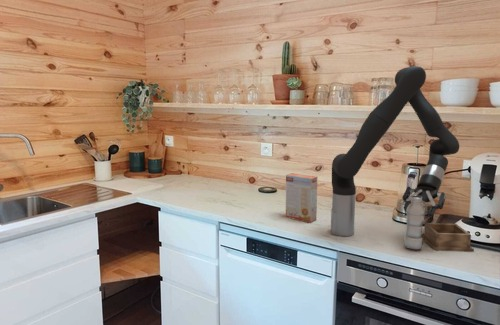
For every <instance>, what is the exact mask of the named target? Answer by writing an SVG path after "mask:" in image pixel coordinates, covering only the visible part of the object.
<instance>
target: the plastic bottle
mask: <svg viewBox="0 0 500 325" xmlns="http://www.w3.org/2000/svg"><path fill="white" fill-rule="evenodd" d="M412 195H413V194H412ZM410 197H411V203H410V205H409V206H408V207H407V209H406V212H405V213H406V230H405V235H404V239H403V244H404V246H405V248H408V249H409V250H415V251H416V250H417V251H418V250H420V249H422V248H423V244H424V240H423V238H422V234H423V227H424V226H423V225H424V220H425V216H426V209H425V206H424V205H423V204H422V203H423V201H422V197H421V196H416V195H413V196H411V195H410Z"/></svg>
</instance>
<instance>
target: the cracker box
mask: <svg viewBox="0 0 500 325" xmlns="http://www.w3.org/2000/svg"><path fill="white" fill-rule="evenodd" d="M317 198H318V176H316V175H307V174H301V173H288V174H285V218H289V217H290V219H293V218H294V219H293V220H298V221H303V222H307V223H312V222H314V221H317V216H318V215H317V212H318V210H317V209H318V207H317V206H318V199H317Z"/></svg>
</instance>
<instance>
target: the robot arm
mask: <svg viewBox="0 0 500 325" xmlns="http://www.w3.org/2000/svg"><path fill="white" fill-rule="evenodd" d="M426 79H427V73H426V70H425V69H424V68H423V67H421V66H417V65H413V66H412V65H411V66H408V67H403V68H401V69H399V70H398V71H397V72H396V74H395V76H394V83H395V87H394V89H393V91H392V92H390V93H389V95H387V97H386V98H384V100H382V101H381V102H380V103H379V104H378V105H376V107H374V109H373V110H371V112H370V113H369V114H368V115H367V117H366V118H365V120H364V121H363V124H361V127H360V130H359V132H358V135H357V137H356V139H355V142H354V143H353V144H352V146H351V147H350V148H349V150H348V151H347V152H346V153H339V154H336V156H335V157H334V158H333V160H332V162H331V188H332V198H331V199H332V203H331V205H332V206H331V209H330V212H331V214H330V232H331V235H334V236H335V235H336V236H340V237H350V236H353V235H354V234H355V212H356V196H357V194H356V193H357V192H356V189H357V187H356V184H355V180H354V177H355V176H356V175H357V174H358V173H359V171H360V169H361V168H362V166H363V164H364V163H365V161H366V159H367V158H368V156H369V154H370V153H371V152H372V151H373V149H374V148H375V147H376V146H377V145H378V143H379V142H380V141H381V140H382V138H383V137H384V135H385V134H386V133H387V132H388V130H389V129H390V127H392V125H393V124H394V122H395V121H396V119H397V118H398V116H399V115H400V113H401V112H402V111H403V109H404V108H405V107H406V106H407V104H408V103H409V104H410V107H411V108H412V109H413V111H414V112H415V114H416V116H417V118H418V120H419V121H420V123H421V126H422V127H423V129H424V131H425V133H426V134H427V136H428V137H430V138H437V139H435V140H433V141H432V142H431V143H430V145H429V152H428V161H427V163H426V166H425V168H424V169H423V170H422V173H421V176H420V178H419V180H418V183H417V185H416V187H415V188H412V187H411V186H407V187H406V189H405V191H404V194H402V200H403V203H404V206H403V210H404V211H405V213H407V212H406V209H407V207H408V206H409V205H410V203H411V196H413V195H416V196H421V197H422V202H424V203H429V202H430V205H431V206H430V208H429V209H428V212H427V217H428V218H432V217H434V215H435V213H436V211H437V210H438V209H439V210H443V208H444V205H445V201H446V198H447V196H446V194H445V191H444V192H439V190H440V188H441V185H442V183H443V181H444V177H445V173H446V170H447V168H448V165H449V159H448V158H447V157H446V156H449V155H450V156H451V155H455V154H457V153H458V152H459V150H460V142H459V140H458V139H457V137H456V136H455V135H454V134H453V133H452V132H451V131H450V130H449V129H448V128H447V126H446V125H445V124H444V122H443V120H442V118H441V116H440V114H439V112H438V111H437V110H436V108H435V106H433V105H432V104H431V103H430V102H429V100H428V99H427V98H426V96H425V95H424V94H423V92H422V90H421V88H422V87H423V86H424V84H425V82H426ZM436 198H438V201H437V203H436V202H435V201H434V199H436Z"/></svg>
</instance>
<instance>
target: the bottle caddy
mask: <svg viewBox="0 0 500 325" xmlns="http://www.w3.org/2000/svg"><path fill="white" fill-rule="evenodd" d="M423 227H424V229H423V233H422V238H423V242H425V243H426V244H427V245H428V246H429V247H430V248H431V249H432V251H446V252H448V251H450V252H452V251H453V252H470V253H471V252H475V249H474V248H473V247H472V246H471V238H472V234H470V233H469V232H468V231H467V230H465V229H463V227H461V226H460V225H458V224H457V223H441V222H440V223H433V222H425V223H424V226H423Z"/></svg>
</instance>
